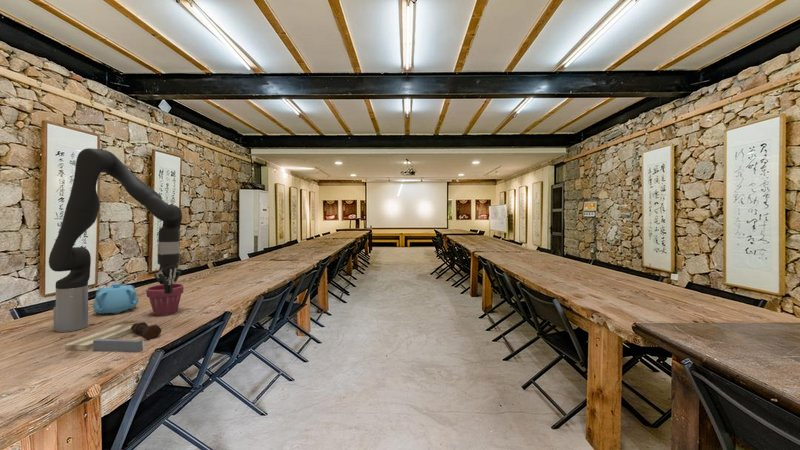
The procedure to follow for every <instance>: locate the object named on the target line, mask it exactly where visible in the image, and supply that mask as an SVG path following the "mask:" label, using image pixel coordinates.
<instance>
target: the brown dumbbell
mask: <svg viewBox="0 0 800 450" xmlns="http://www.w3.org/2000/svg"><path fill="white" fill-rule="evenodd" d="M131 329H132V330H133V332H132V333H135V335H137V336H139V335H142V336H143V337H144V338H145V339H146V340H148V341H150V340H154V339H157V338H159V337H160V334H161V333H162V328H161V327H160V326H159V325H158V324H151V325H148V324H147V323H146V322H145V321H142V322H136V323H135V322H134V323H133V324H132V327H131Z"/></svg>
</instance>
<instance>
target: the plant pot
mask: <svg viewBox="0 0 800 450" xmlns="http://www.w3.org/2000/svg"><path fill="white" fill-rule="evenodd" d="M183 293H184V284H182V283H174V284H173V291H172V293H170V294H165V292H164V285H163V284H156V285H152V286H149V287H147V288H146V297H147V298H148V299H149V303H150V306H151V310H152V312H153V315H154V316H159V317H160V316H167V315H173V314H176V313H177V312H178V309H179V305H180V301H181V298H182V294H183Z"/></svg>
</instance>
